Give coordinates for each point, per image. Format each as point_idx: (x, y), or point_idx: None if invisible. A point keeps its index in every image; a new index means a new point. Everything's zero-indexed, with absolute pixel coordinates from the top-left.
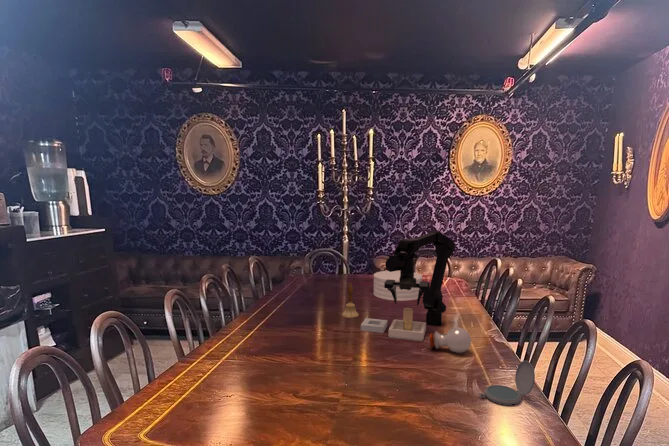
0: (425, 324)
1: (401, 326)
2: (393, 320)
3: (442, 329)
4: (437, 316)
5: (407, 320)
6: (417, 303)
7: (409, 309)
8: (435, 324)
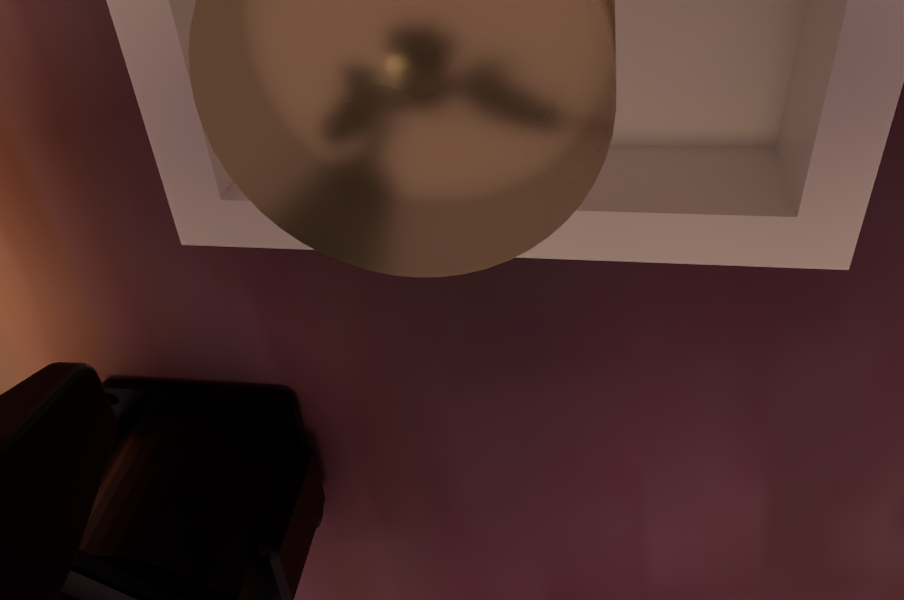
0: (147, 133)
1: (663, 151)
2: (865, 199)
3: (35, 266)
4: (104, 495)
5: None
6: (15, 413)
7: (328, 51)
8: (171, 391)
